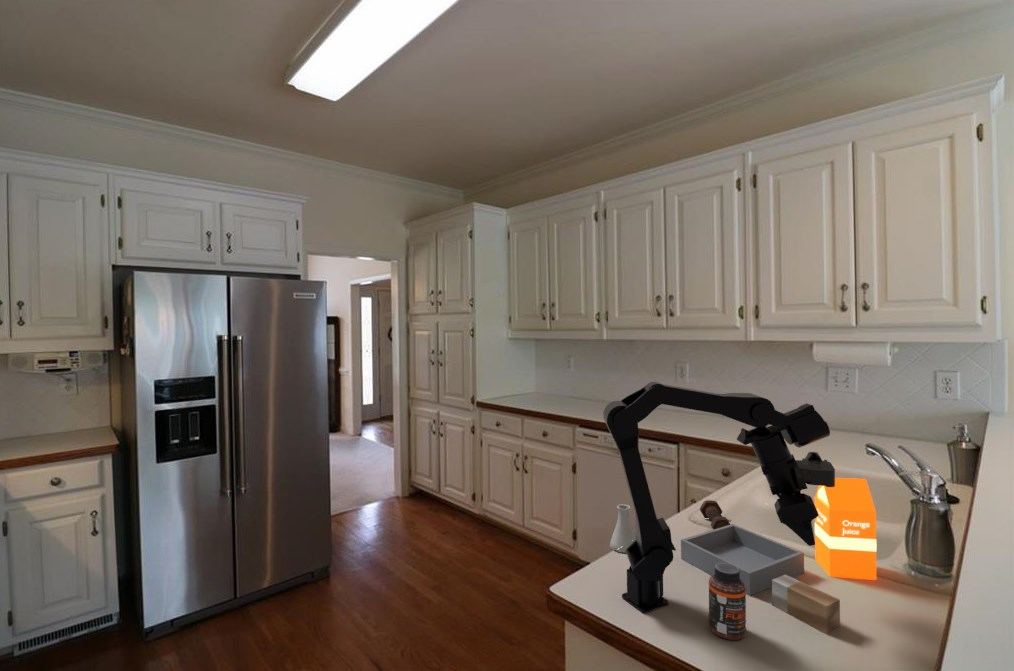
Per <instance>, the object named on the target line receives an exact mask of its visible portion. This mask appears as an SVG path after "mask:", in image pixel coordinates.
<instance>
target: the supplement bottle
mask: <svg viewBox="0 0 1014 671" xmlns="http://www.w3.org/2000/svg"><path fill="white" fill-rule="evenodd" d="M714 572H715V574H714V575H710V577H709V580H708V626H709V629H710V631H712V633H714V634H715V635H716V636H718V637H719V638H722V639H725V640H729V641H739V640H741V639H743V638H745V636H746V630H747V627H746V626H747V625H746V624H747V615H746V614H747V612H746V608H747V605H746V604H747V602H746V601H747V599H746V598H747V597H746V595H747V594H746V589H745V584H744V583H743V581H742V580H741V579H740V575H739V569H738V568H737V567H736V566H734V565H732V564H728V563H718V564H716V565H715V571H714Z"/></svg>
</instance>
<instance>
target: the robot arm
mask: <svg viewBox="0 0 1014 671" xmlns="http://www.w3.org/2000/svg"><path fill="white" fill-rule="evenodd" d="M661 405H666V406H670V407H675V408H676V407H677V408H682V409H688V410H693V411H698V412H706V413H709V414H715V415H720V416H723V417H727V418H729V419H732V420H735V421H737V422H739V423H742V424H745V425H748V426H750V427H752V428H751V429H749V430H748V429H745V428H741V429H740V433H739V434H738V436H737V437H736V441H737V442H740V443H741V444H742V445H744V446H747V445H751V447H752V449H753V452H754V453H755V456H756V458H757V460H758V463H759V465H760V468H761V472H762V474H763V476H765V479H766V481H767V483H768V485H769V490H770V492H771V494H772V496H775V495H776V496H777V497H778V498H777V499H776V501H775V503H774V505H773V506H774V508H775V512H776V515H777V517H778V520H779V522H780V523H781V524H782V525H786V527H788V528H789V529H790V530H791V531H792V532H793V533H794V534H795V535H797V537H799V538H800V539H801V540H802V541H803V542H804V543H805V544H807V545H808V546H809V547H812V546H815V533H814V530H813V524H812V521H813V520H815V518H817V516H819V514H818V512H817V509H816V507H815V501H814V500H813V499H812V496H810V495H808V494H807V493H804V492H802V493H801V491H803V490H807V489H808V488H809V487H808V485H810V486H819V485H820V486H826V487H834V486H835V478H836V469H835V467H834V466H833V464H832V462H830V461H828V459H824V460H823V459H822V458H821V457H822V456H820V454H819V452H818V451H808V453H807V455H806V456H805V458H802V459H801V460H800V459H796V458H795V455H794V454H793V453H792V454H791V451H790V449H789V447H788V445H787V444H789V445H791V446H792V445H794V446H795V447H797V448H802V447H804V446H807V445H811V444H813V443H815V442H817V441H820V440H822V439H825V438H828V437H829V436H830V434H831V430H830V427H829V425H828V423H827V421H825V419H824V418H823V417H822V416H821V414H820V413H819V412H818V411H817V410H816V408H815V407H814V405H813V404H810V403H804V404H801V405H800V406H798V407H796V408H794V409H791V410H789V411H786V412H784V413H783V412H781V411H778V410H776V409H775V406H774V404H773V403H772V401H771V400H770V399H768V398H766V397H762V396H759V395H756V394H753V393H751V392H730V393H729V392H728V393H727V392H726V393H716V392H711V391H709V392H708V391H704V390H698V389H693V388H687V387H681V386H675V385H671V384H670V385H669V384H665V383H664V384H663V383H660V382H658V381H650V382H648V383H647V384H646V385H644V386H643V387H641V388H640V389H638V390H636V391H634V392H632V393H631V394H629V395H627V396H625V397H624V398H622V399H621V400H614V401H611V402H609V403H608V404H607V405H606V406H605V407H604V409H603V411H602V413H603V414H602V415H603V419H604V422H605V424H606V426H607V429H608V431H609V433H610V435H611V437H612V439H613V442H614V444H615V445H616V447H617V449H618V453H619V458H620V462H621V465H622V469H623V472H624V477H625V480H626V484H627V487H628V491H629V495H630V500H631V503H632V507H633V511H634V514H635V515H634V516H635V526H634V527H635V528H634V529H635V535H636V540H635V541H634V542H633V543H632V544H631V545H630V546H629V547H628V548H627V549H626V553H625V554H626V556H627V559H628V561H629V568H627V569H626V592H624V593H621V598H622V599H623V600H625V601H627V602H628V603H630V605H632V606H633V607H634V608H635V609H637V610H638V611H640V612H642V613H645V614H646V613H648V612H650V611H653V610H656V609H659V608H661V607H664V606H667V605H669V600H667V599H666V598H665V597H664V573H665V570H666V568H668V567H669V566H670V565H671V563H672V562H673V560H674V552H673V551H677V549H676V547H675V545H674V544H673V540H672V532H671V528H670V527H669V525H668V523H667V522H666V520H665V519H664V517H660V518H658V517H657V514H656V511H655V507H654V501H653V498H652V495H651V491H650V488H649V484H648V480H647V477H646V472H645V469H644V464H643V461H642V458H641V454H640V450H639V449H640V448H639V440H640V438H639V437H640V436H639V434H640V433H639V423H640V422H642V421H643V420H645V419H646V418H647V417H648V416H649V415H650V414H651V413H652V412H653V411H655V410H656V409H657V408H658V407H660V406H661ZM768 425H769V426H768Z"/></svg>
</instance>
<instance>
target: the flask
mask: <svg viewBox="0 0 1014 671" xmlns="http://www.w3.org/2000/svg"><path fill="white" fill-rule="evenodd" d="M616 510H617V512H618V513H617V514H618V515H617V521H616V524H615V528H614V531H613V534H612V536H611V540H610V543H609V546H608V547H609V549H611V550H614V551H615V550H616V552H618V553H623V554H624V553H625V554H627V553H626V549H627V548H628V547H629V546H630V545H631V544H632V543H633V542H634V541H635V540H636V532H635V531H634V527H633V525H632V521H631V518H630V510H631V506H630V505H628V504H625V503H624V504H617V506H616ZM632 540H633V541H632ZM621 546H623V547H622V548H620V547H621ZM618 548H620V549H619V550H617V549H618Z"/></svg>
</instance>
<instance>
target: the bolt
mask: <svg viewBox="0 0 1014 671" xmlns="http://www.w3.org/2000/svg"><path fill="white" fill-rule="evenodd" d="M699 511H700V513H701V514H702V516H703V518H704V519H705V518H709V519H710V520H709V521H710V522H711V523H710V526H711V528H712V530H714V529H718V528H721V527H724V526H727V525H731V523H730V521H729V520H728V519H727V516H723V515H722V514H723V510H722V509H721V507H720V505H719V504H718V502H717V501H716V500H709V499H707V500H704V501H703V502H702V504H701V505H700V508H699Z"/></svg>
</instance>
